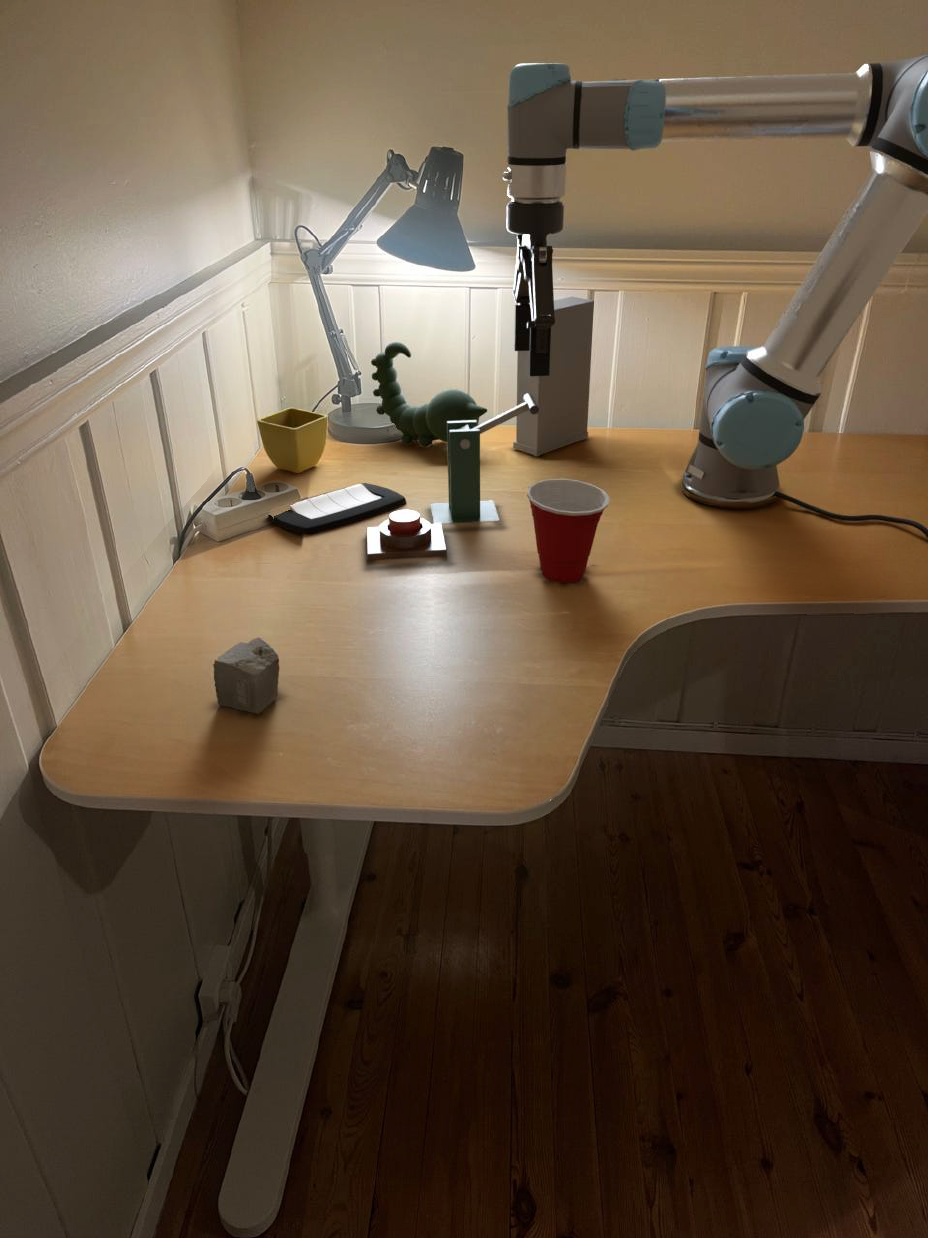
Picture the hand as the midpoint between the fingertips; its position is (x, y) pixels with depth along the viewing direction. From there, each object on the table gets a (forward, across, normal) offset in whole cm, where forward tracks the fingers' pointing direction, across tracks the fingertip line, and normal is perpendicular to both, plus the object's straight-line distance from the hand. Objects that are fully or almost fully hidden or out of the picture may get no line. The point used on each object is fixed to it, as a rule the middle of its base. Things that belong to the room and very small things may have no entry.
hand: (531, 362), depth 134 cm
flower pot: (+24, -26, -37) cm, 51 cm away
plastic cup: (+24, +20, +2) cm, 31 cm away
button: (+20, +11, -19) cm, 30 cm away
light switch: (+24, -4, -29) cm, 38 cm away
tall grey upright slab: (+24, -32, +9) cm, 41 cm away
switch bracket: (+24, 0, -10) cm, 26 cm away
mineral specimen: (+24, +47, -37) cm, 64 cm away
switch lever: (+10, 0, -5) cm, 11 cm away
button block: (+24, +11, -19) cm, 32 cm away
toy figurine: (+24, -34, -12) cm, 44 cm away
